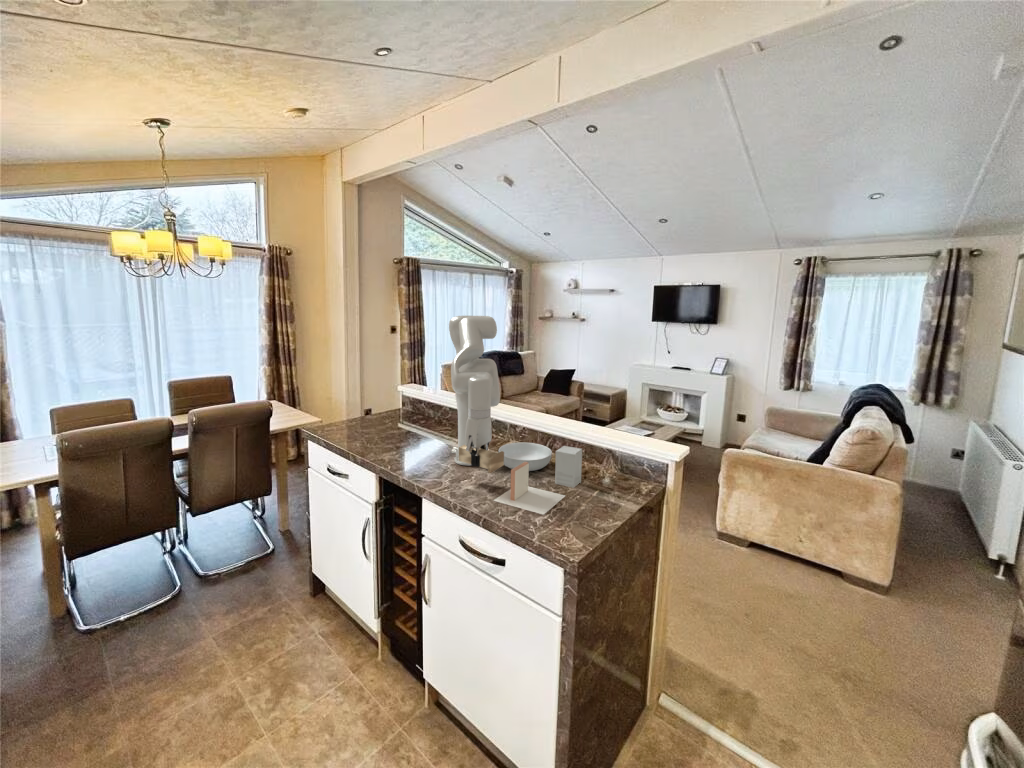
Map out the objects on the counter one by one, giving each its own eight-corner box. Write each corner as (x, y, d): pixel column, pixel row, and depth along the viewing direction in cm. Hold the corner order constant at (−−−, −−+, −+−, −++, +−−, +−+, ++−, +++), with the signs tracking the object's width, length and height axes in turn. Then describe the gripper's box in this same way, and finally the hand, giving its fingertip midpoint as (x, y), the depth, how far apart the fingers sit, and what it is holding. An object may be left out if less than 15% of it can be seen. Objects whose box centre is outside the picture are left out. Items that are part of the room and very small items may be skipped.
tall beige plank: (454, 462, 152) (454, 449, 151) (468, 455, 159) (468, 442, 158) (490, 473, 145) (491, 459, 144) (503, 465, 151) (504, 451, 150)
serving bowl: (505, 479, 159) (506, 461, 157) (492, 460, 179) (492, 444, 177) (559, 474, 164) (560, 457, 163) (541, 456, 184) (541, 440, 183)
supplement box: (581, 482, 157) (583, 448, 155) (573, 489, 151) (575, 454, 148) (562, 478, 161) (563, 445, 158) (554, 485, 154) (555, 450, 152)
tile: (510, 499, 141) (510, 470, 139) (524, 490, 148) (524, 461, 146) (514, 500, 140) (515, 471, 138) (528, 491, 147) (529, 462, 146)
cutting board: (493, 502, 140) (493, 500, 140) (518, 485, 153) (518, 483, 153) (543, 516, 131) (543, 514, 131) (565, 497, 144) (565, 495, 144)
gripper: (484, 405, 157) (483, 454, 161) (455, 416, 143) (455, 469, 147) (502, 409, 153) (501, 458, 157) (474, 420, 139) (473, 474, 143)
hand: (479, 463), depth 152 cm, fingers closed on tall beige plank, 3 cm apart
